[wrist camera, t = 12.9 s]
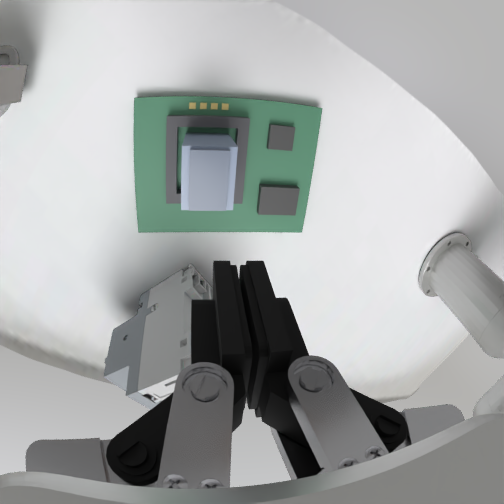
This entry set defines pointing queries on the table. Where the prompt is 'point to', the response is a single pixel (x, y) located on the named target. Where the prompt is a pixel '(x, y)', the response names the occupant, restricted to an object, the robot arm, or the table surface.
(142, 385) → the circuit breaker
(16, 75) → the network device
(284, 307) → the robot arm
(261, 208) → the board
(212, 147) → the plug
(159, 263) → the table surface
